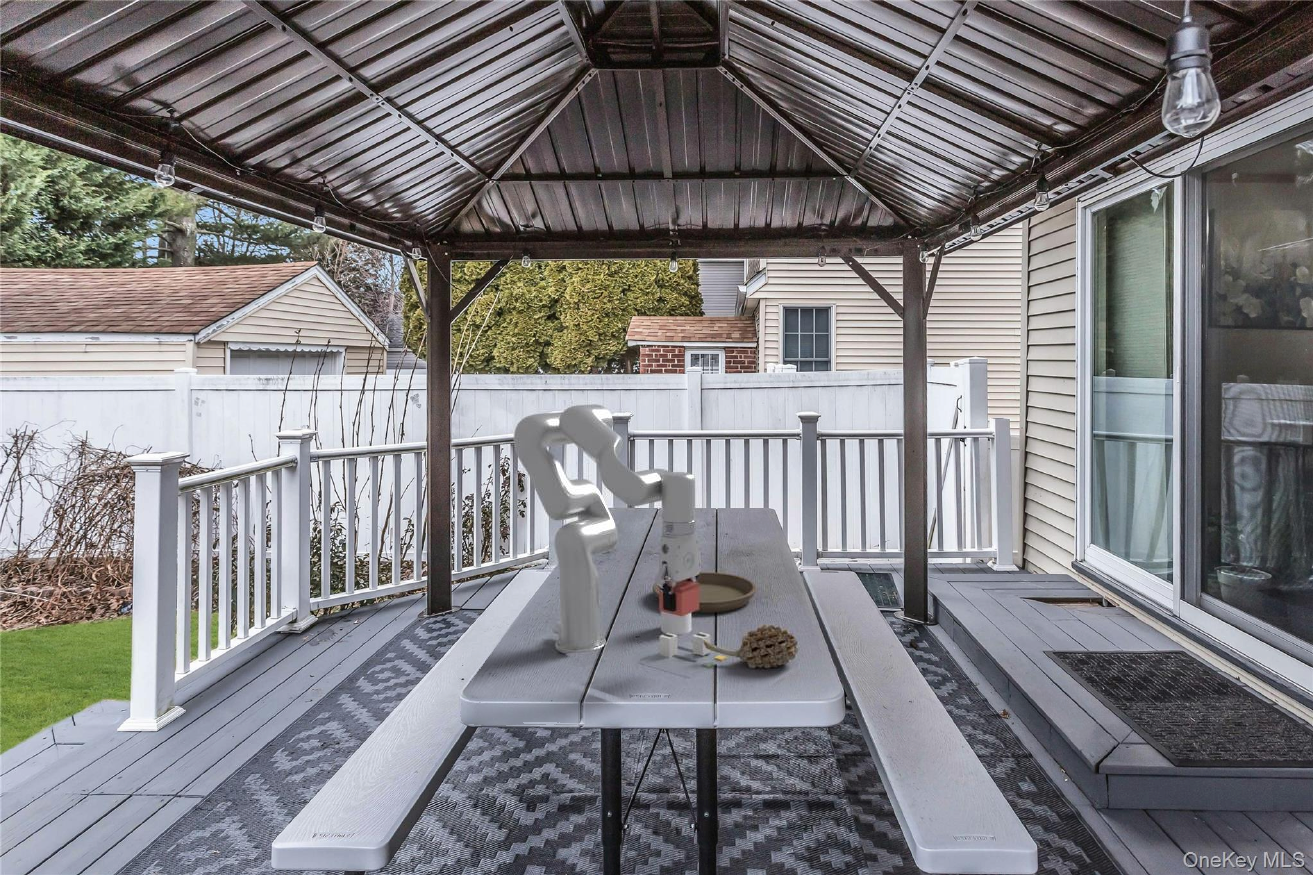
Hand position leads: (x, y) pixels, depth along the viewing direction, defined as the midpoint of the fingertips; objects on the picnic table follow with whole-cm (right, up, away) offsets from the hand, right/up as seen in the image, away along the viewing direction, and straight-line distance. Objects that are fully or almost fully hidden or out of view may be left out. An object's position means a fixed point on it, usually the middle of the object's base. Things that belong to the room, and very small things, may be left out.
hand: (679, 605), depth 171 cm
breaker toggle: (+6, -14, +10) cm, 18 cm away
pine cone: (+16, -15, +3) cm, 22 cm away
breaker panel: (+2, -15, +7) cm, 16 cm away
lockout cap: (0, -1, 0) cm, 1 cm away
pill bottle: (0, -13, +27) cm, 30 cm away
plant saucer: (+9, -11, +57) cm, 59 cm away
